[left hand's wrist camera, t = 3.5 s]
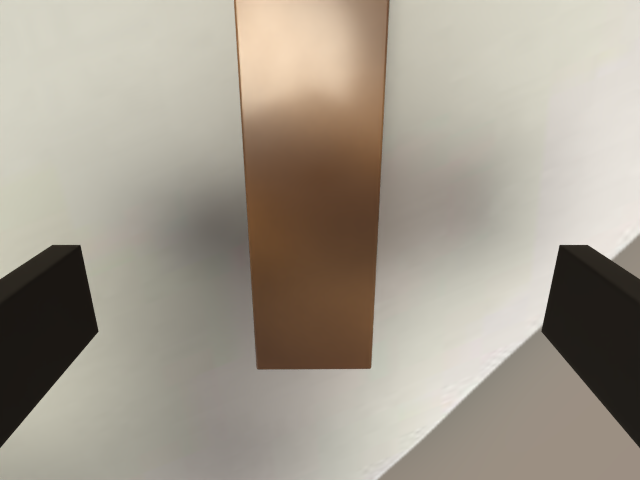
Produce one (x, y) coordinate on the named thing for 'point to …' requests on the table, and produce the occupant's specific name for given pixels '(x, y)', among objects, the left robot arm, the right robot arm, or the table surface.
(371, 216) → the beam
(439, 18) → the table surface
